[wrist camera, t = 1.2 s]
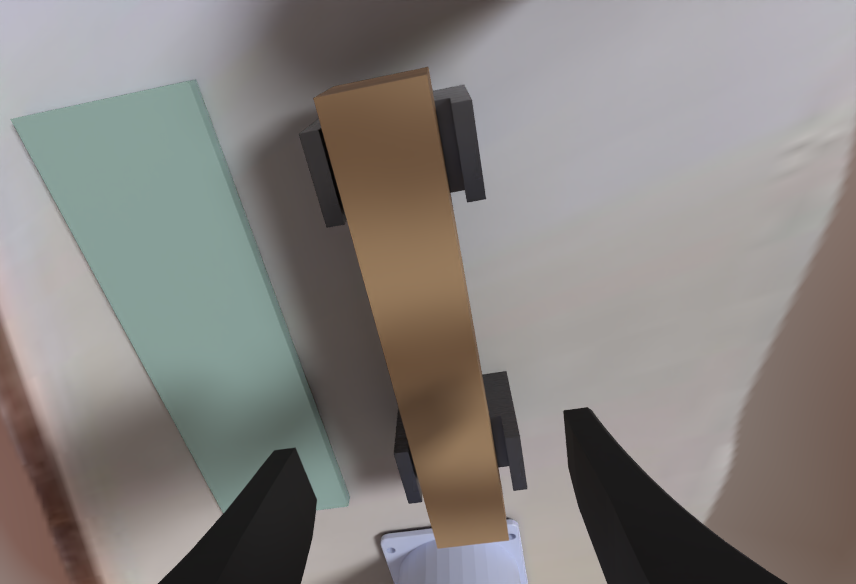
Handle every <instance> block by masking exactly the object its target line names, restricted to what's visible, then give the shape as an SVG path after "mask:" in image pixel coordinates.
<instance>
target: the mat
mask: <svg viewBox="0 0 856 584" xmlns="http://www.w3.org/2000/svg"><path fill="white" fill-rule="evenodd" d="M11 121H12V123H13V125H14V127H15V128H16V130H17V132H18V134H19V136H20V138H21V140H22V141H23V143H24V145H25V147H26V149H27V151H28V152H29V154H30V156H31V158H32V160H33V162H34V164H35V165H36V167H37V169H38V171H39V173H40V175H41V177H42V178H43V180H44V182H45V184H46V186H47V188H48V190H49V191H50V193H51V195H52V197H53V199H54V201H55V202H56V204H57V206H58V208H59V210H60V212H61V214H62V215H63V217H64V219H65V221H66V223H67V225H68V227H69V228H70V230H71V232H72V234H73V236H74V238H75V240H76V241H77V243H78V245H79V247H80V249H81V251H82V253H83V254H84V256H85V258H86V260H87V262H88V264H89V265H90V267H91V269H92V271H93V273H94V275H95V277H96V278H97V280H98V282H99V284H100V286H101V288H102V290H103V291H104V293H105V295H106V297H107V299H108V301H109V303H110V304H111V306H112V308H113V310H114V312H115V314H116V315H117V317H118V319H119V321H120V323H121V325H122V327H123V328H124V330H125V332H126V334H127V336H128V338H129V340H130V341H131V343H132V345H133V347H134V349H135V351H136V353H137V354H138V356H139V358H140V360H141V362H142V364H143V366H144V367H145V369H146V371H147V373H148V375H149V377H150V378H151V380H152V382H153V384H154V386H155V388H156V390H157V391H158V393H159V395H160V397H161V399H162V401H163V403H164V404H165V406H166V408H167V410H168V412H169V414H170V416H171V417H172V419H173V421H174V423H175V425H176V427H177V428H178V430H179V432H180V434H181V436H182V438H183V440H184V441H185V443H186V445H187V447H188V449H189V451H190V453H191V454H192V456H193V458H194V460H195V462H196V464H197V466H198V467H199V469H200V471H201V473H202V475H203V477H204V479H205V480H206V482H207V484H208V486H209V488H210V490H211V491H212V493H213V495H214V497H215V499H216V501H217V503H218V504H219V506H220V508H221V510H222V512H223V513H224V512H225V511H226V510H227V508H228V507H229V506H230V505H231V504H232V502H233V501H234V500H235V499H236V497H237V496H238V495H239V494H240V492H241V491H242V490H243V489H244V488H245V486H246V485H247V484H248V482H249V481H250V480H251V479H252V477H253V476H254V475H255V474H256V472H257V471H258V470H259V468H260V467H261V466H262V465H263V463H264V462H265V461H266V460H267V458H268V457H269V456H270V455H271V454H272V452H273V451H274V450H280V449H287V448H295V447H296V450H297V452H298V455H299V457H300V460H301V462H302V464H303V467H304V469H305V472H306V474H307V476H308V479H309V481H310V484H311V486H312V489H313V491H314V493H315V496H316V498H317V505H316V510H323V509H331V508H339V507H347V506H348V505H349V499H350V496H349V494H348V491H347V488H346V486H345V483H344V480H343V477H342V475H341V472H340V469H339V467H338V464H337V461H336V458H335V456H334V453H333V450H332V448H331V445H330V442H329V440H328V437H327V434H326V431H325V429H324V426H323V423H322V421H321V418H320V415H319V412H318V410H317V407H316V404H315V402H314V399H313V396H312V393H311V391H310V388H309V385H308V383H307V380H306V377H305V374H304V372H303V369H302V366H301V364H300V361H299V358H298V355H297V353H296V350H295V347H294V345H293V342H292V339H291V337H290V334H289V331H288V328H287V326H286V323H285V320H284V318H283V315H282V312H281V309H280V307H279V304H278V301H277V299H276V296H275V293H274V290H273V288H272V285H271V282H270V280H269V277H268V274H267V271H266V269H265V266H264V263H263V261H262V258H261V255H260V252H259V250H258V247H257V244H256V242H255V239H254V236H253V234H252V231H251V228H250V225H249V223H248V220H247V217H246V215H245V212H244V209H243V206H242V204H241V201H240V198H239V196H238V193H237V190H236V187H235V185H234V182H233V179H232V177H231V174H230V171H229V168H228V166H227V163H226V160H225V158H224V155H223V152H222V149H221V147H220V144H219V141H218V139H217V136H216V133H215V131H214V128H213V125H212V122H211V120H210V117H209V114H208V112H207V109H206V106H205V103H204V101H203V98H202V95H201V93H200V90H199V87H198V84H197V82H196V80H191V81H186V82H182V83H177V84H172V85H168V86H163V87H158V88H154V89H149V90H144V91H140V92H135V93H130V94H126V95H121V96H116V97H112V98H107V99H102V100H98V101H93V102H88V103H84V104H79V105H74V106H70V107H65V108H60V109H56V110H51V111H46V112H42V113H37V114H32V115H28V116H23V117H18V118H14V119H11Z"/></svg>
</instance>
